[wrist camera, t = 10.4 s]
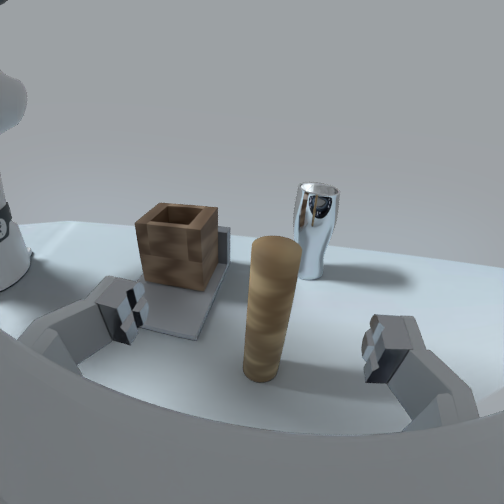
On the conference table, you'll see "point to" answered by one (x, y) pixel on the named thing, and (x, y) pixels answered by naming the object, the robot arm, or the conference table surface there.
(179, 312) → the rail base
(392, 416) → the conference table surface
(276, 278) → the dowel
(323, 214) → the beer glass
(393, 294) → the conference table surface
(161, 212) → the socket block
